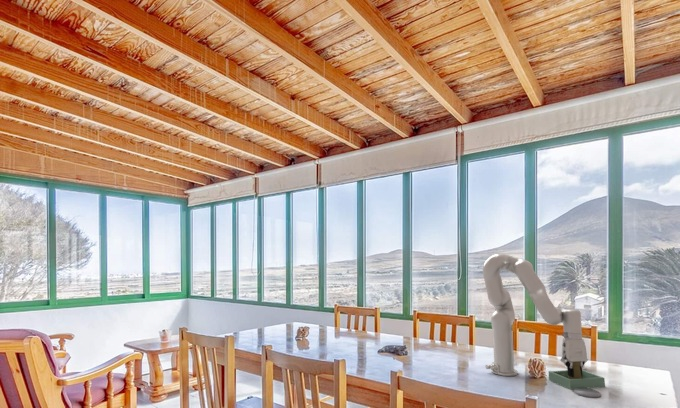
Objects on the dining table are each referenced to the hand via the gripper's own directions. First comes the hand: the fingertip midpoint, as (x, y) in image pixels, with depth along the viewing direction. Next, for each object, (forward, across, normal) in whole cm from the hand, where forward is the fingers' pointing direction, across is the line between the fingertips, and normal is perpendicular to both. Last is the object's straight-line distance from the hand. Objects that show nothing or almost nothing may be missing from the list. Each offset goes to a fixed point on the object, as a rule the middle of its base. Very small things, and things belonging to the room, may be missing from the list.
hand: (575, 375), depth 193 cm
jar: (+4, +18, +22) cm, 29 cm away
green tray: (+3, 0, 0) cm, 3 cm away
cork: (+3, 0, 0) cm, 3 cm away
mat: (+3, -6, -14) cm, 15 cm away
